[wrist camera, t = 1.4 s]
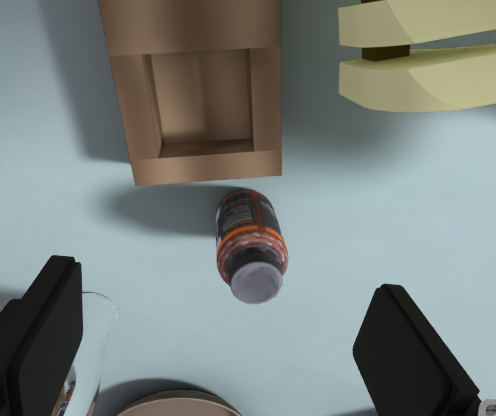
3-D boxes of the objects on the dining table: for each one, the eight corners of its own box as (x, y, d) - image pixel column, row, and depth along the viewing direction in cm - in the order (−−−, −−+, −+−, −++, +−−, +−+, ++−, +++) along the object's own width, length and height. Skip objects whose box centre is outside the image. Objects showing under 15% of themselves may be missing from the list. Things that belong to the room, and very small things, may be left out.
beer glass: (130, 298, 41) (89, 431, 28) (113, 342, 44) (69, 482, 30) (66, 281, 39) (-12, 413, 26) (52, 327, 42) (-24, 469, 28)
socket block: (266, -193, 24) (278, -243, 20) (273, 156, 35) (281, 175, 30) (81, -189, 24) (49, -239, 19) (145, 165, 34) (135, 186, 30)
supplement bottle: (203, 219, 37) (199, 290, 27) (241, 176, 36) (251, 235, 25) (248, 249, 39) (259, 326, 29) (285, 210, 38) (311, 277, 27)
